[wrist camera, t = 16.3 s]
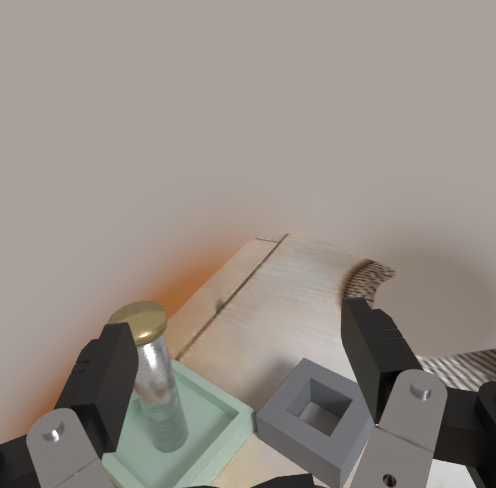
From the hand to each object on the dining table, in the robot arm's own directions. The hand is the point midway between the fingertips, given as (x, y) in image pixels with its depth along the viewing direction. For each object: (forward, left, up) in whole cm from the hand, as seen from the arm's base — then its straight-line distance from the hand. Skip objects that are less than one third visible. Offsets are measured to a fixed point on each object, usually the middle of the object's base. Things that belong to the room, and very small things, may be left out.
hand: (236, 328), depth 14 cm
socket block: (-17, -6, -30) cm, 35 cm away
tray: (-6, -19, -30) cm, 36 cm away
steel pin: (-6, -19, -29) cm, 35 cm away
